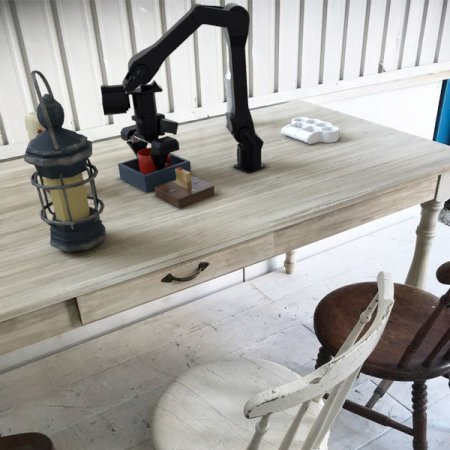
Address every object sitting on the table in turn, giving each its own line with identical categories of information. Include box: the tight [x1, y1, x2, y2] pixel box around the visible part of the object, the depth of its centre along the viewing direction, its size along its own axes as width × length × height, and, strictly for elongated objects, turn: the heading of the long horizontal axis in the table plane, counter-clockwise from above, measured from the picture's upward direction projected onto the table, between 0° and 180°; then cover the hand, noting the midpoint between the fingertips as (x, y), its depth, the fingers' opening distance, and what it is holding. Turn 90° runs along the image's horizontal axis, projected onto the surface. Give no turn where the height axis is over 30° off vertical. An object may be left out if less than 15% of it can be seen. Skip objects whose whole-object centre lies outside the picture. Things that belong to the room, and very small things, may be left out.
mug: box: [137, 147, 171, 175], centre depth 139 cm, size 9×7×6 cm
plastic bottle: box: [223, 61, 232, 123], centre depth 169 cm, size 6×7×20 cm
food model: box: [24, 111, 50, 194], centre depth 130 cm, size 10×7×20 cm
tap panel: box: [154, 175, 216, 210], centre depth 130 cm, size 10×11×3 cm
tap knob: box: [175, 167, 192, 190], centre depth 128 cm, size 4×1×4 cm, turn 41°
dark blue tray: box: [117, 152, 192, 193], centre depth 140 cm, size 13×15×4 cm
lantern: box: [23, 69, 107, 253], centre depth 103 cm, size 14×13×35 cm
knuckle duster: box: [280, 116, 340, 145], centre depth 162 cm, size 3×18×15 cm
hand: (153, 170), depth 139 cm, fingers closed on mug, 7 cm apart
